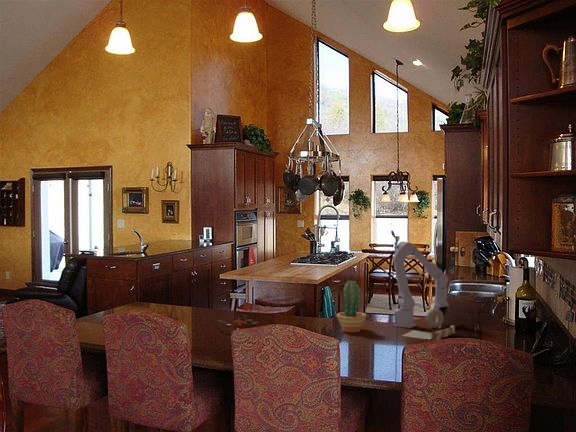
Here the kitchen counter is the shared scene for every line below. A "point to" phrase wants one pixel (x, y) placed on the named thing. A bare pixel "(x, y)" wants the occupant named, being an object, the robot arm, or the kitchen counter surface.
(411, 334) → the mat
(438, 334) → the gate
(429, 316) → the donut
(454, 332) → the gate post
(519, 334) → the kitchen counter surface
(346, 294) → the potted cactus
